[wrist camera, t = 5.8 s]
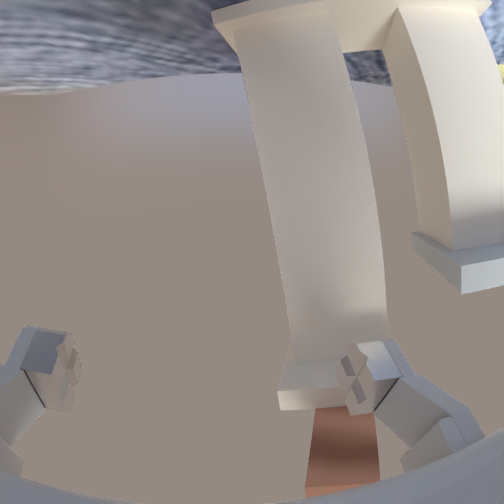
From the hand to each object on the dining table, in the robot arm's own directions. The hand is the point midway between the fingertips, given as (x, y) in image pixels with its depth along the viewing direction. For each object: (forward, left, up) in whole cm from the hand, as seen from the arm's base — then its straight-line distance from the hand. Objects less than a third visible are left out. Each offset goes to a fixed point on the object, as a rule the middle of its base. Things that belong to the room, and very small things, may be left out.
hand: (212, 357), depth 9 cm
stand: (+21, +10, -20) cm, 30 cm away
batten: (+17, +3, +12) cm, 21 cm away
